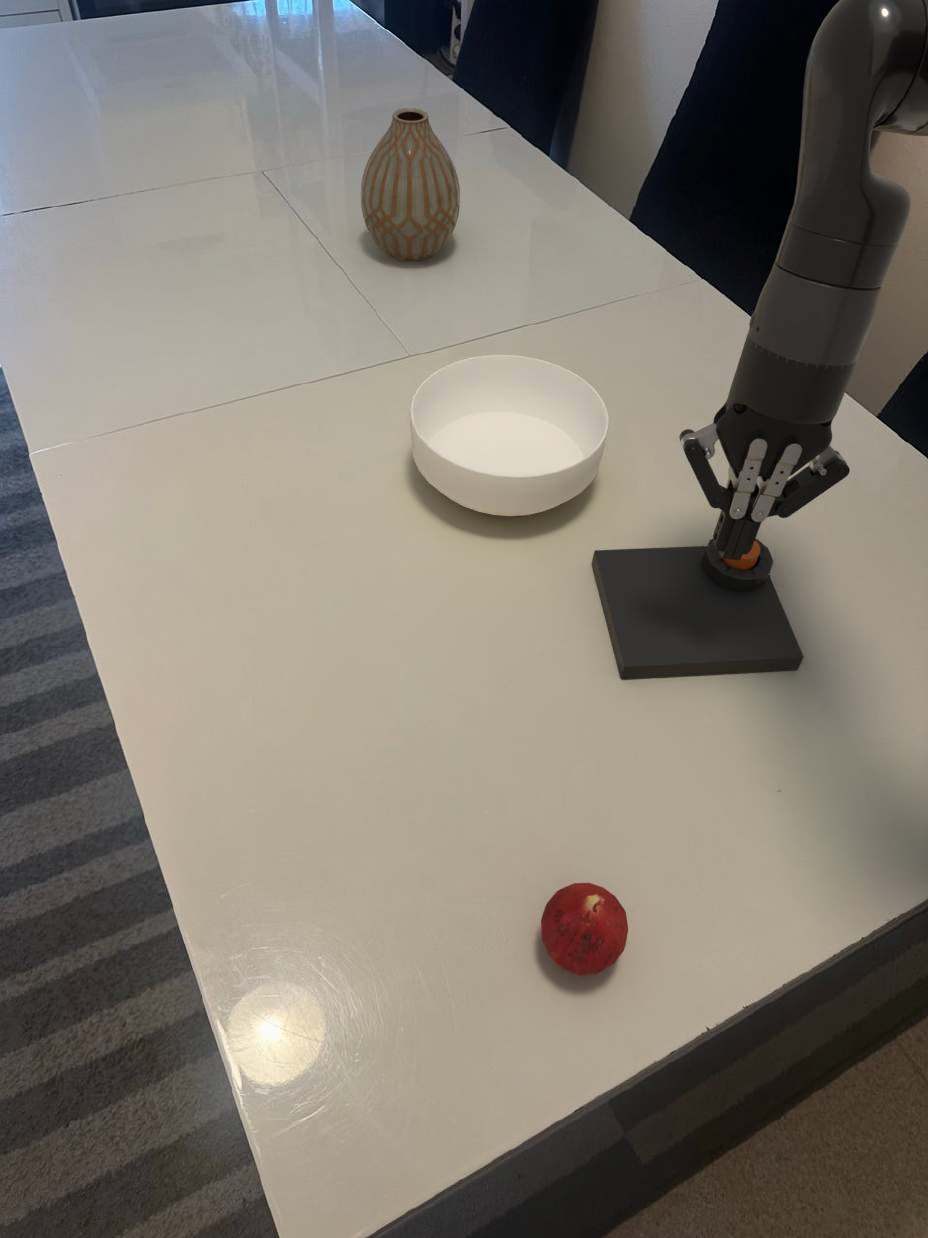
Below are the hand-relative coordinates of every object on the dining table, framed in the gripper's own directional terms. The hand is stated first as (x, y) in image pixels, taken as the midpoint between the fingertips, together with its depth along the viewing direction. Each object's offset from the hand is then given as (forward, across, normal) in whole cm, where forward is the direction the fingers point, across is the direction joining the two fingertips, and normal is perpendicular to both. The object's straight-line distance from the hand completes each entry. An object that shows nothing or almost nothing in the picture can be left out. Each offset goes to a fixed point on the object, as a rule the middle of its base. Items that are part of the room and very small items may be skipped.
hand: (728, 554), depth 73 cm
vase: (-2, -31, +70) cm, 76 cm away
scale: (+11, +1, +7) cm, 13 cm away
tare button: (+6, +5, +11) cm, 14 cm away
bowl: (+8, -17, +24) cm, 31 cm away
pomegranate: (+20, -10, -24) cm, 32 cm away
